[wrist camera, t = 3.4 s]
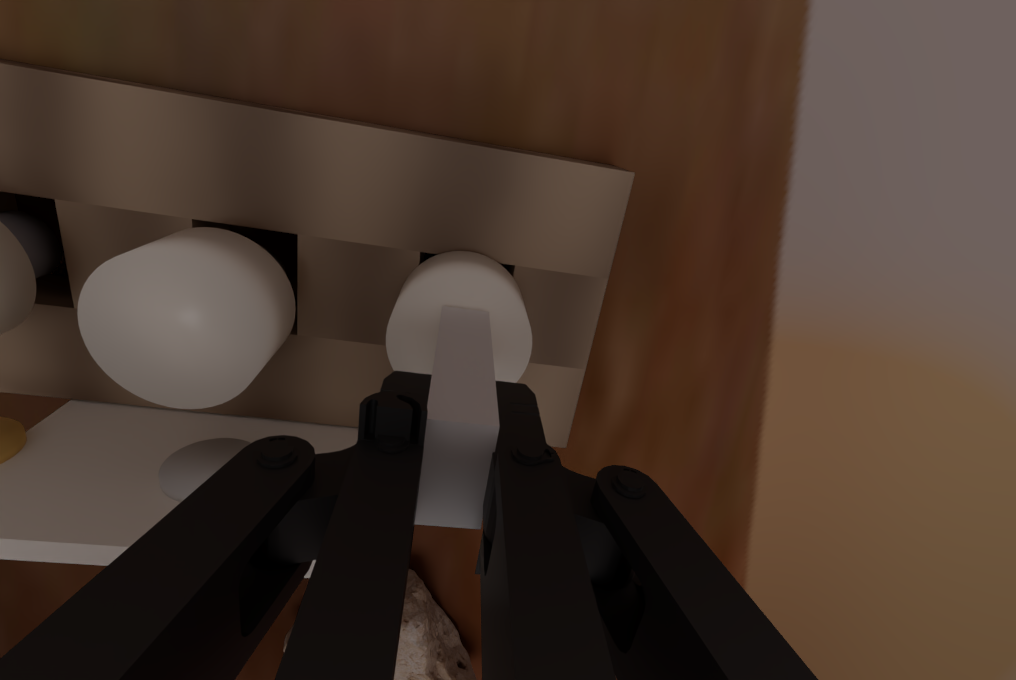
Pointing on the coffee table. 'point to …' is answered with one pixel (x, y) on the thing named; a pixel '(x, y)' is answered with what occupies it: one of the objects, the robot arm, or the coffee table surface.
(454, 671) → the stone
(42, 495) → the card
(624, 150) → the coffee table surface
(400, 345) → the button
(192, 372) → the button
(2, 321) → the button
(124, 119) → the board
